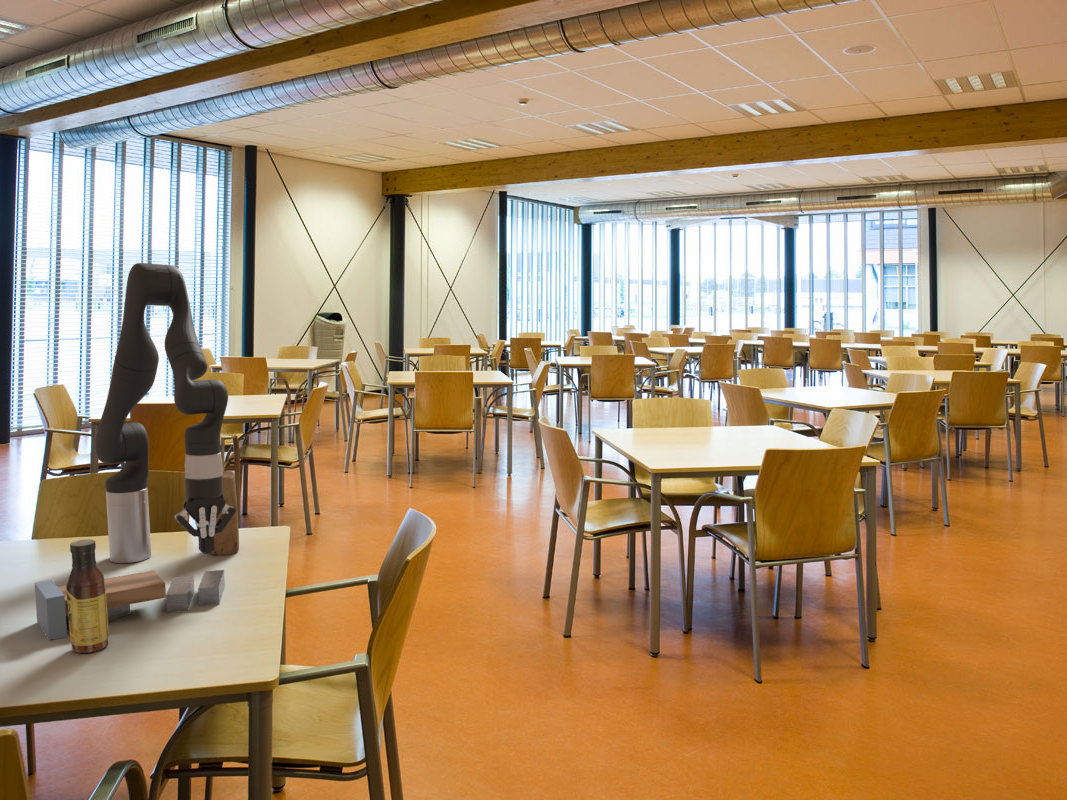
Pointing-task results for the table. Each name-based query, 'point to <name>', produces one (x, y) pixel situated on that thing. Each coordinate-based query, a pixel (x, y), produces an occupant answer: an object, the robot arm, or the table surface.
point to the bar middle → (180, 594)
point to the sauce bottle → (86, 600)
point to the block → (229, 536)
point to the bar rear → (211, 587)
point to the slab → (130, 589)
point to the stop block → (51, 609)
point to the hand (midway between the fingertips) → (206, 553)
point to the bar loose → (111, 613)
